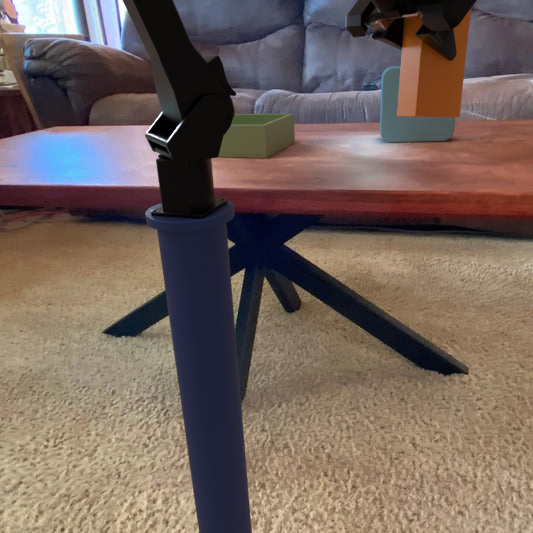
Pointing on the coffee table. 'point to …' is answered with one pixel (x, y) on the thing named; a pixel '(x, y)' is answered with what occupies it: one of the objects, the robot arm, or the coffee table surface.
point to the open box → (258, 135)
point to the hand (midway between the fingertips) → (440, 57)
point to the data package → (407, 126)
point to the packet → (431, 74)
